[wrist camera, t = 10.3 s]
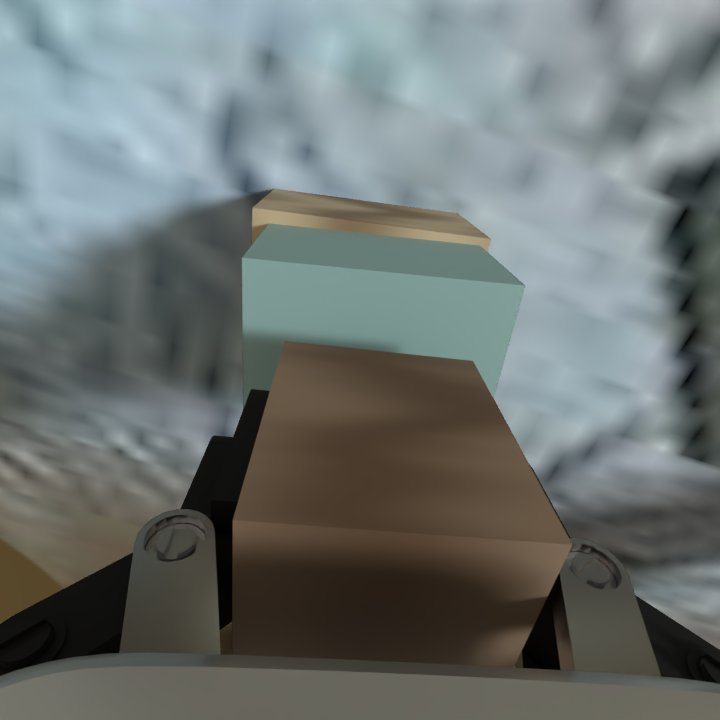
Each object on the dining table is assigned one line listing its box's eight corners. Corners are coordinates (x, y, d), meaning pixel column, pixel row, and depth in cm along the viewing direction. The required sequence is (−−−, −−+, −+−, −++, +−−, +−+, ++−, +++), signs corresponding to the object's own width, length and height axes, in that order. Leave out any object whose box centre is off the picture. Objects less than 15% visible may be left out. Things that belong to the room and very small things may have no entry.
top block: (479, 245, 17) (525, 285, 13) (440, 418, 21) (466, 496, 17) (269, 223, 17) (241, 257, 12) (266, 405, 20) (244, 482, 16)
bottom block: (456, 212, 23) (490, 238, 17) (422, 370, 27) (441, 431, 21) (275, 188, 22) (252, 207, 17) (267, 354, 26) (247, 412, 21)
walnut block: (473, 360, 12) (572, 545, 7) (435, 500, 14) (487, 721, 9) (284, 340, 12) (232, 520, 6) (275, 488, 14) (231, 712, 9)
